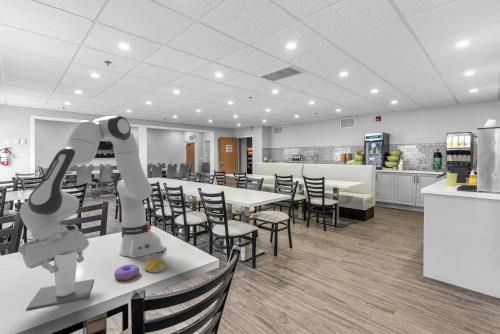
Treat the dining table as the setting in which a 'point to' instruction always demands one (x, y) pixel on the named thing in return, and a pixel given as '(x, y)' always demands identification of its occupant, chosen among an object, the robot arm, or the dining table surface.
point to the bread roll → (155, 265)
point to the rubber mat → (49, 297)
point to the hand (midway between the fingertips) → (68, 266)
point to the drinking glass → (65, 272)
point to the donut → (126, 272)
